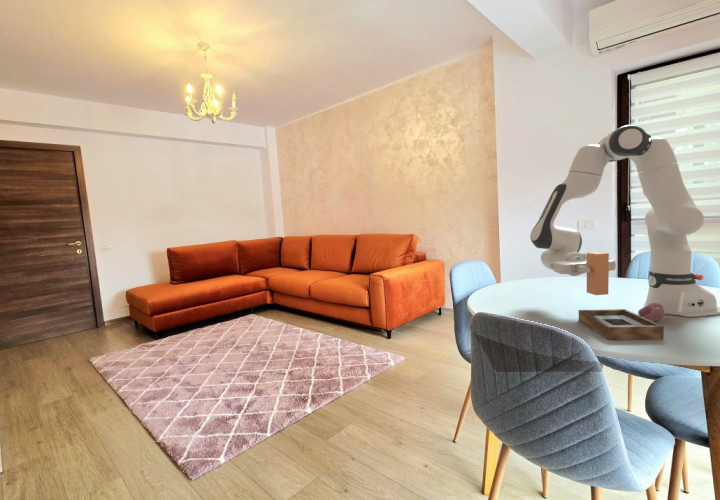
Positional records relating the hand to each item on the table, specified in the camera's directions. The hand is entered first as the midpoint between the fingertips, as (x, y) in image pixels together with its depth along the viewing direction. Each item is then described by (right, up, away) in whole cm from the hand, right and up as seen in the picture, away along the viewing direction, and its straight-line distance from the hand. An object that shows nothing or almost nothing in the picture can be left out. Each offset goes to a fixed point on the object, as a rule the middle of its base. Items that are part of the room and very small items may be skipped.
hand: (599, 269), depth 116 cm
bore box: (+3, -19, -5) cm, 20 cm away
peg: (0, -8, +2) cm, 8 cm away
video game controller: (+20, -18, +3) cm, 27 cm away
